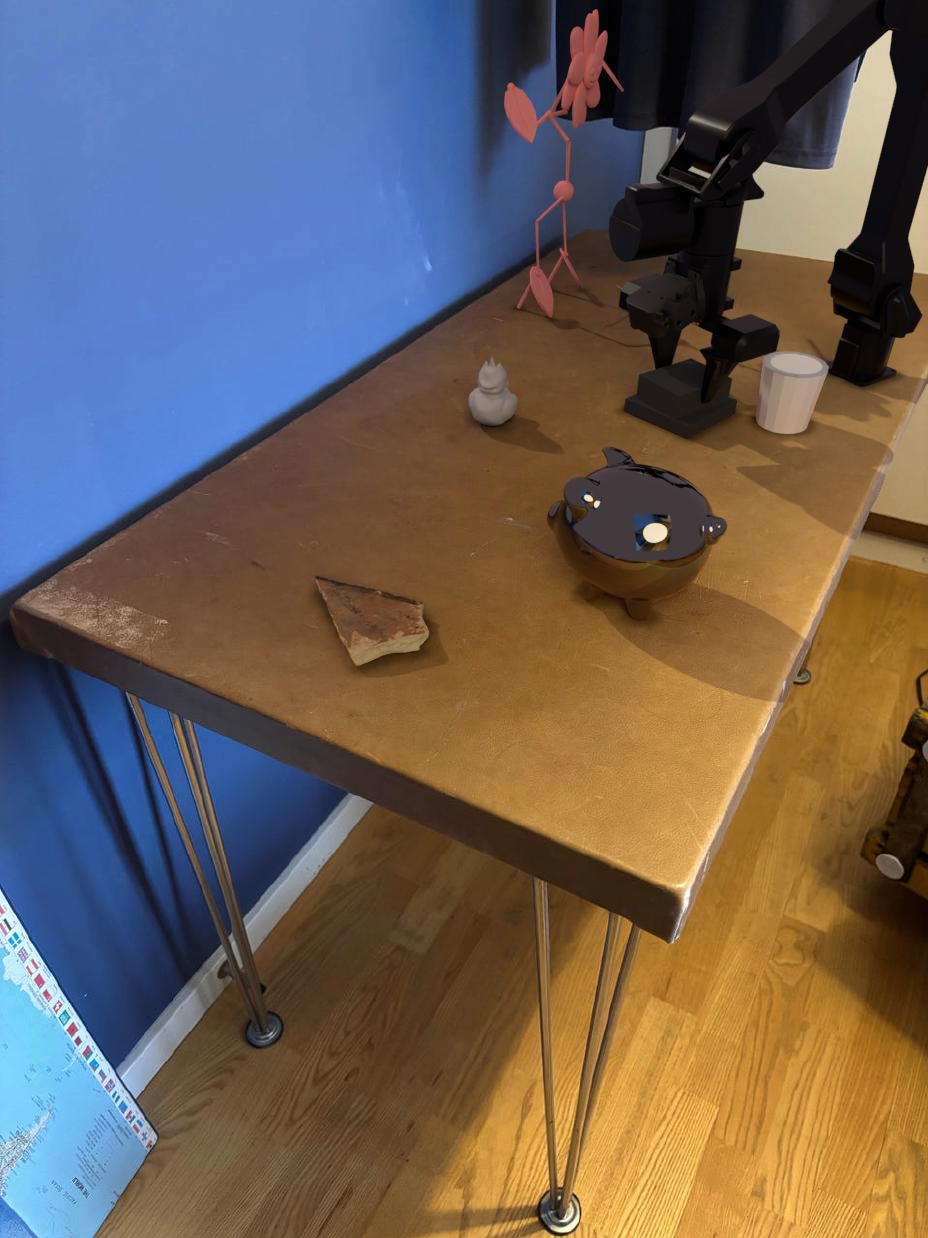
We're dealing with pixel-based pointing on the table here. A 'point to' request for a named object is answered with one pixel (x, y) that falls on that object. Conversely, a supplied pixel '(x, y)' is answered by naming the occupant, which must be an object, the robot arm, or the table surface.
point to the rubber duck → (492, 396)
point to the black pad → (678, 389)
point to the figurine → (522, 116)
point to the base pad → (685, 424)
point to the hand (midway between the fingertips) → (683, 390)
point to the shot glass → (789, 391)
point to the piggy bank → (634, 531)
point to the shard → (373, 620)
